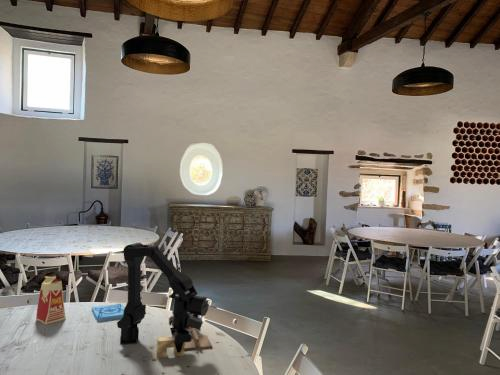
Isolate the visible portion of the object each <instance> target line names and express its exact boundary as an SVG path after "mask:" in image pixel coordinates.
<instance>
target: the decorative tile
mask: <svg viewBox="0 0 500 375" xmlns="http://www.w3.org/2000/svg"><path fill="white" fill-rule="evenodd" d="M124 309H125V306H124V305H123V304H121V303H115V304H114V303H113V304H105V305H99V306H98V305H97V306H92V307H91V312H92V314H93V316H94V318H95V320H96V322H104V321H111V320H117V319H118V320H120V319H122V318H123V313H124Z"/></svg>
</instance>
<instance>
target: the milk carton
mask: <svg viewBox="0 0 500 375" xmlns="http://www.w3.org/2000/svg"><path fill="white" fill-rule="evenodd" d="M62 283H63V282H62V280H60V279H58V278H57V275H54V276H45V279H44V281H43V282H41V287H40V289H39V290H40V291H39V295H38V302H37V308H36V315H35V320H36V321H38V322H40V323H43V324H44V325H49V324H52V323H56V322H60V321H63V320H66V311H65V310H66V309H65V303H64V293H63V284H62Z"/></svg>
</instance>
